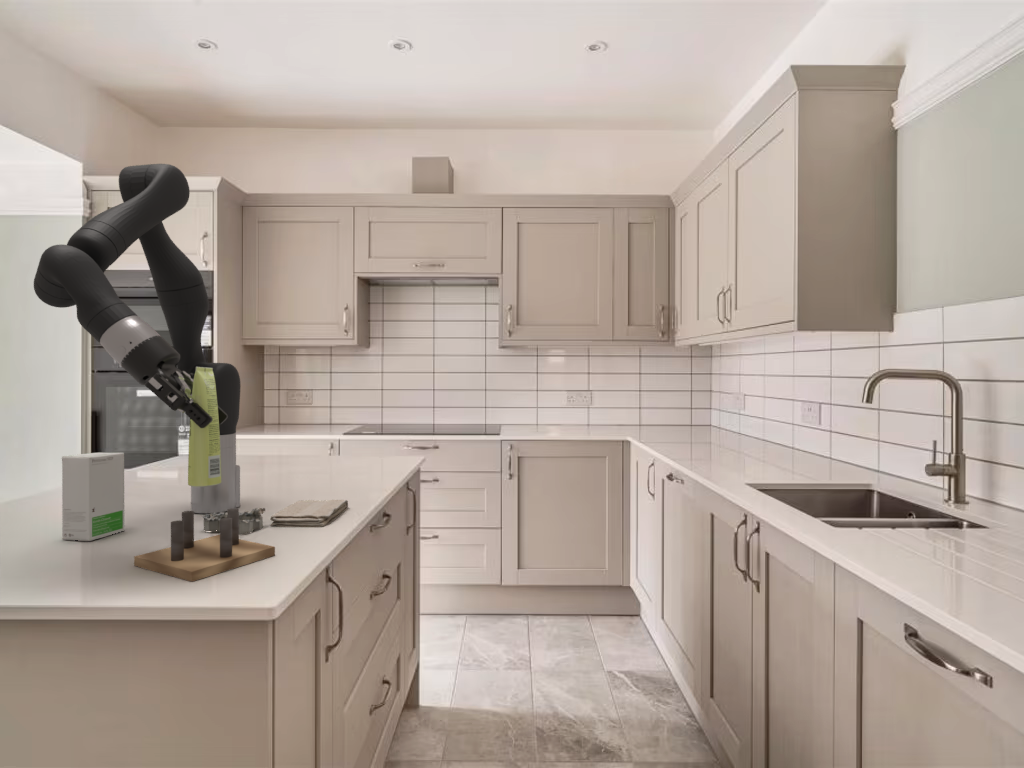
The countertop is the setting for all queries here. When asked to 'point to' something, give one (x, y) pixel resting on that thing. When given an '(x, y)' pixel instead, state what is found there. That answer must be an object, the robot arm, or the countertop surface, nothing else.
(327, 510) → the washcloth
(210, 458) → the tube
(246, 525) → the egg carton
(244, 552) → the cradle
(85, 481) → the skincare box
